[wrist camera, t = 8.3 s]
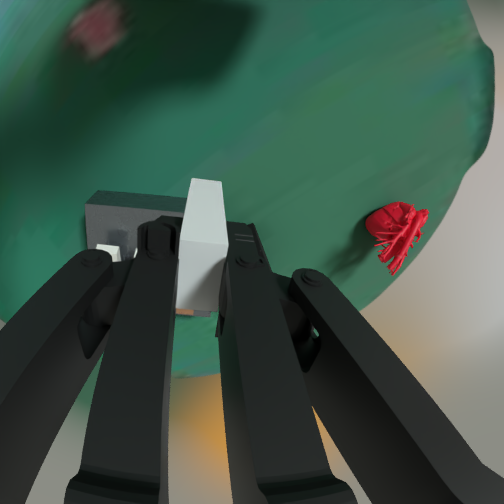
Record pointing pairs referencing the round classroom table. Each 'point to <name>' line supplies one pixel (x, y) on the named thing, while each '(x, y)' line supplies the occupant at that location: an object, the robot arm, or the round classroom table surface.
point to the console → (128, 222)
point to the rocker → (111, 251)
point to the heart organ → (396, 230)
